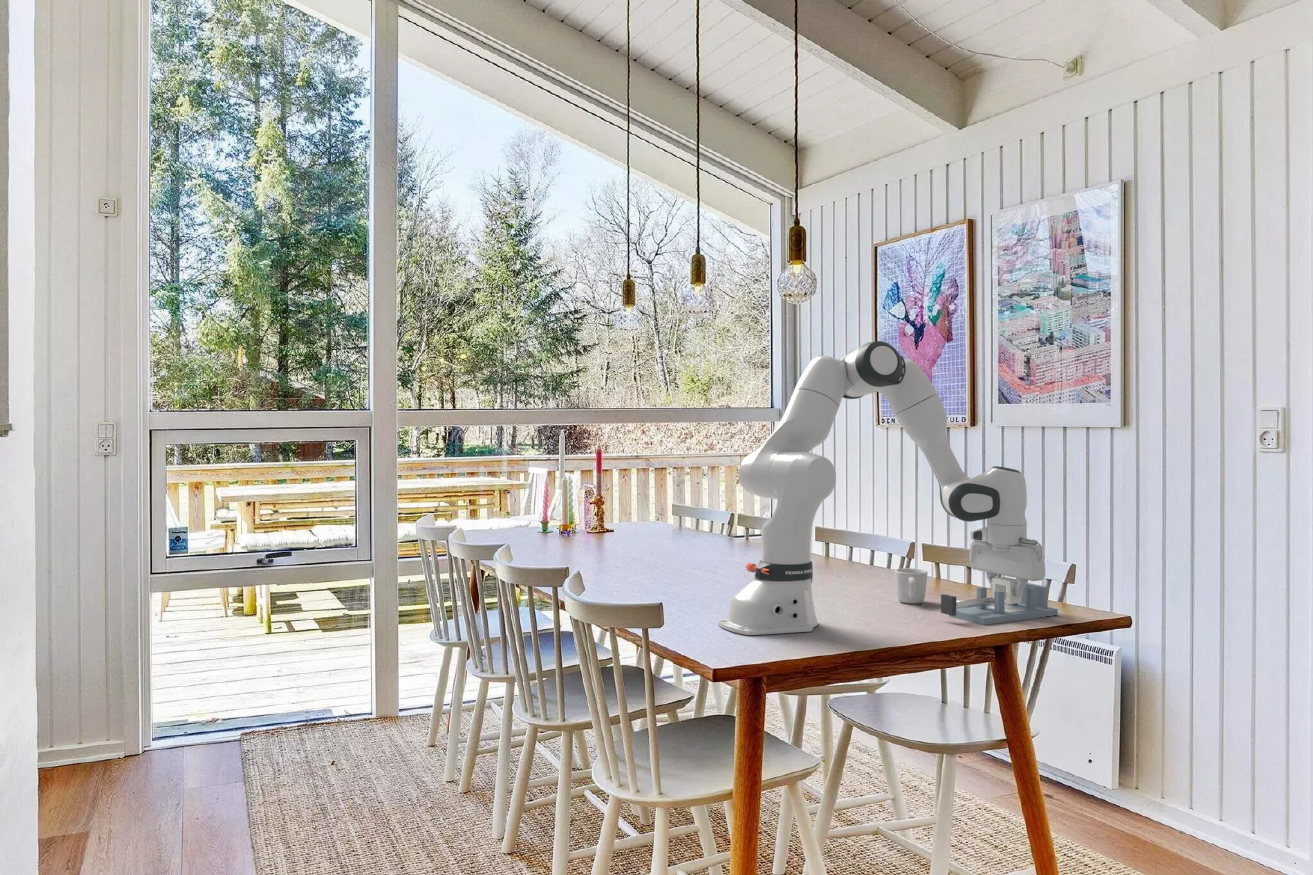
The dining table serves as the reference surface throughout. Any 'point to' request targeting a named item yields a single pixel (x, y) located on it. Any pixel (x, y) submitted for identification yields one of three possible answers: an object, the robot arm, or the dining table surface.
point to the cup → (911, 585)
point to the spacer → (1006, 588)
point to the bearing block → (1009, 607)
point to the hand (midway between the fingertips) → (1006, 594)
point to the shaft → (961, 603)
